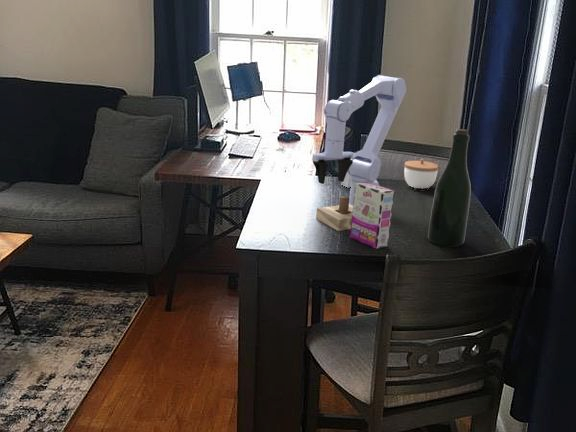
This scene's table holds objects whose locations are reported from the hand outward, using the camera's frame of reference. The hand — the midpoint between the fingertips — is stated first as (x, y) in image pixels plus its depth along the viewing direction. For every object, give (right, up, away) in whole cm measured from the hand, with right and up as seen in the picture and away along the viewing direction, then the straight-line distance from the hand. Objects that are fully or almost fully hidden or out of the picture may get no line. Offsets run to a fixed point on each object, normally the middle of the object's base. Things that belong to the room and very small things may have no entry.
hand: (331, 182), depth 201 cm
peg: (+3, -13, -5) cm, 14 cm away
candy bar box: (+9, -18, -20) cm, 29 cm away
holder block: (+3, -13, -5) cm, 14 cm away
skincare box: (+10, 0, +37) cm, 39 cm away
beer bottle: (+32, -18, -16) cm, 40 cm away
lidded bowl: (+36, 0, +42) cm, 55 cm away
